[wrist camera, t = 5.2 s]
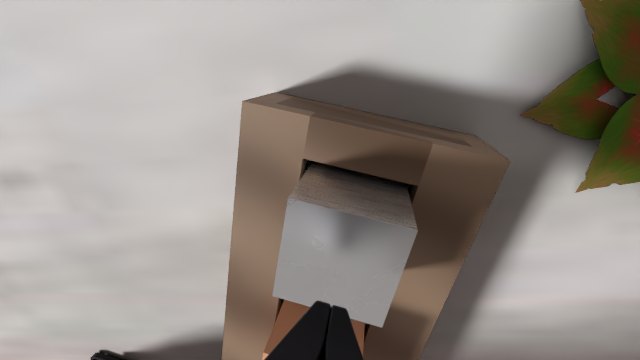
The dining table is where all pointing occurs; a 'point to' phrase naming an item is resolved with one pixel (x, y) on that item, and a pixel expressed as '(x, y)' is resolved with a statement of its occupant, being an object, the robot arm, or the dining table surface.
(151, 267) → the dining table surface
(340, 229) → the grey block
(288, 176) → the console
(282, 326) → the orange cube
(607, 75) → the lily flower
